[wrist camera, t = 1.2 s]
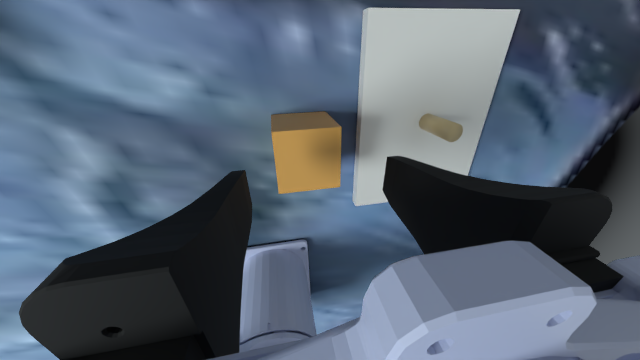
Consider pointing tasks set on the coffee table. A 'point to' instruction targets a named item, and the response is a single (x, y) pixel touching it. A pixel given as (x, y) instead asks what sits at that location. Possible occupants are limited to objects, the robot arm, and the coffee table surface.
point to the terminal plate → (425, 88)
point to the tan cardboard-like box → (306, 151)
